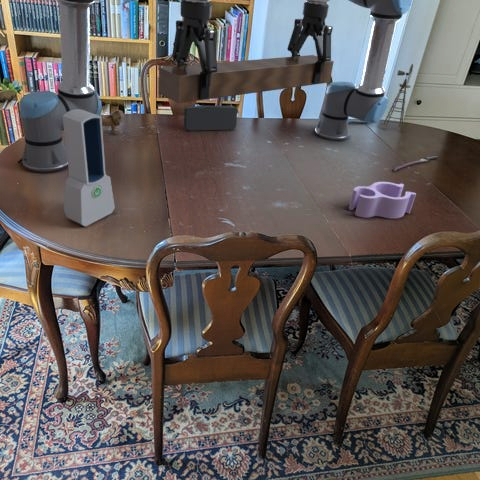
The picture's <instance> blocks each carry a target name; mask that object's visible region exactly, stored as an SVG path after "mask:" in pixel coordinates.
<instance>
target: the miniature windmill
mask: <svg viewBox="0 0 480 480" xmlns="http://www.w3.org/2000/svg"><path fill="white" fill-rule="evenodd" d="M413 68H414V64H413V63H411V65H410V67H409V70H408V72H405V71H403V70H398V71H397V74H396V76H405V79H404V80H403V83H399V85H398V86H399V90H398V92H397V95H396V97H395V98H394V101H393V103H392V105H391V107H390V108H389V111H388V113H387V115H386V116H385V120H384V121H383V125H385V126H384V130H386V129H387V127H388V125H389V123H392V124H393V123H394V124H399V125H398V126H399V127H400V132H402V131H403V125H404V113H405V105H406V104H405V103H406V94H407V89H408V88H409V89H410V88H411V85H409V83H410V80H411V77H412V74H413ZM403 89H404V90H403ZM401 94H403V97H402V98H400V96H401ZM397 103H402V104H401V107H396V105H397ZM395 109H397V110H395ZM394 112H397V113H400V117H393V113H394ZM391 119H395V120H399V122H397V121H392V120H391ZM401 129H402V130H401Z"/></svg>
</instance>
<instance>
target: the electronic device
mask: <svg viewBox="0 0 480 480" xmlns="http://www.w3.org/2000/svg"><path fill="white" fill-rule="evenodd" d="M102 117H103V116H101V115H100V116H99V115H96V114H93V113H90V112H87V111H84V110H80V109H74V110H71V111H69V112H67V113H65V114H64V115H63V125H64V131H63V133H64V141H65V147H66V150H67V159H68V167H67V168H68V174H69V176H68V177H67V179H66V181H64V194H63V195H64V196H63V197H64V198H63V212H64V215H65V217H66V218H67V219H69V220H70V221H73V222H75V223H77V224H78V225H81V226H83V227H88V226H90V225H91V224H93V223H95V222H97V221H99V220H101V219H103V218H105V217H107V216H109V215H111V214H112V213H113V212H114V210H115V209H116V206H115V200H114V199H115V198H114V194H113V193H114V191H113V186H112V179H111V176H109V175H108V174H106V160H105V146H104V132H103V131H104V130H103V125H102Z"/></svg>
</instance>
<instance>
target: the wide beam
mask: <svg viewBox="0 0 480 480" xmlns="http://www.w3.org/2000/svg"><path fill="white" fill-rule="evenodd" d="M317 61H318V58H317V55H314V54H309V55H300V56H295V57H291V56H283V57H273V58H272V57H271V58H258V59H246V60H235V61H233V60H232V61H223V62H217V72H214V73H212V74H211V82H210V87H209V98H207V99H199V84H200V72H202V68H201V64H200V63H198V64H197V63H196V64H188V65H184V66H177V65H173V66H160V67H159V66H158V95H161V96H162V97H165V98H167V99H169V100H171V101H172V102H174V103H176V104H182V103H192V102H197V101H198V102H199V101H205V100H215V99H219V98H221V99H222V98H227V97H235V96H243V95H248V94H249V95H250V94H257V93H264V92H271V91H277V90H278V91H280V90H286V89H293V88H300V87H307V86H315V85H320V84H330V83H331V78H332V72H333V69H334V68H333V67H334V60H331V61H327V62H325V64H324V69H323V73H321V77H320V83H316V84H313V83H312V81H313V75H314V69H315V63H316V62H317ZM212 68H213V67H212ZM206 69H207V67H206Z"/></svg>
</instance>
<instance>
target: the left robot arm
mask: <svg viewBox="0 0 480 480" xmlns="http://www.w3.org/2000/svg"><path fill="white" fill-rule="evenodd" d="M56 1H57V3H58V8H59V9H58V10H59V12H58V13H59V31H60V32H59V33H60V34H59V36H60V60H61V79H62V80H61V81H60V82H59V83H58V84H57V94H56V92H54V91H51V90H41V91H40V90H37V91H32V92H29V93H26V94H24V95H23V96H22V97H21V98H20V100H19V103H18V104H19V116H20V119H21V125H22V132H23V137H24V148H23V153H22V157H20V159H19V160H18V161H17V164H21V163H22V166H23V168H24V169H25V170H27V171H29V172H33V173H39V174H46V173H56V172H61V171H63V170H66V169H67V168H68V159H67V150H66V144H65V143H64V140H63V132H64V125H63V115H64V114H65V113H67V112H69V111H71V110H74V109H80V110H84V111H87V112H90V113H93V114H96V115H99V116H101V115H102V110H103V104H102V99H100V95H99V94H98V92H97V90H95V87H94V86H93V84H91V83H90V81H91V80H90V79H91V77H90V7H91V6H92V5H93V4H94V3H95V0H56ZM212 7H213V6H212V2H210V0H181V1H180V16H181V17H182V18H183V20H180V19H179V20H175V35H174V41H173V46H172V54H171V58H172V60H175V63H176V66H184V65H189V61H188V56H189V54H190V51H191V48H192V45H193V44H194V47H196V51H197V55H198V59H199V64H201V68H202V72H200V84H199V99H207V98H209V87H210V82H211V74H212V73H214V72H217V63H218V61H217V47H216V37H217V36H216V35H217V30H216V29H210V28H209V25H208V21H209V20H210V19H211V18H212ZM206 67H207V69H206ZM212 67H213V68H212ZM207 100H208V99H207Z"/></svg>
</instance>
